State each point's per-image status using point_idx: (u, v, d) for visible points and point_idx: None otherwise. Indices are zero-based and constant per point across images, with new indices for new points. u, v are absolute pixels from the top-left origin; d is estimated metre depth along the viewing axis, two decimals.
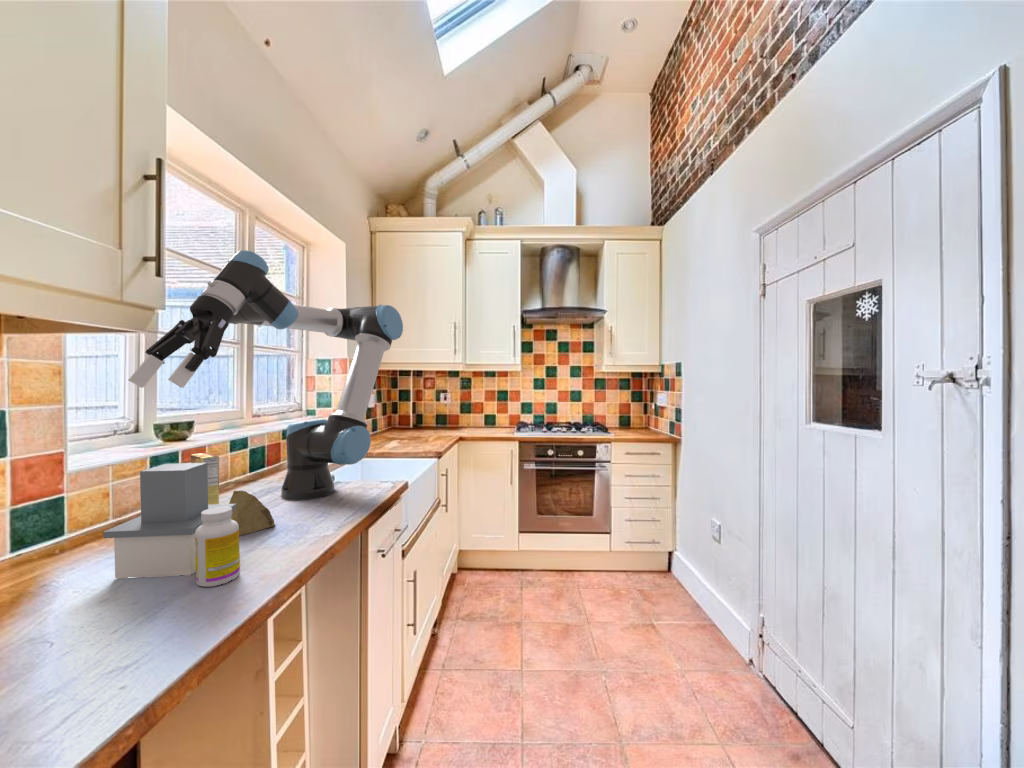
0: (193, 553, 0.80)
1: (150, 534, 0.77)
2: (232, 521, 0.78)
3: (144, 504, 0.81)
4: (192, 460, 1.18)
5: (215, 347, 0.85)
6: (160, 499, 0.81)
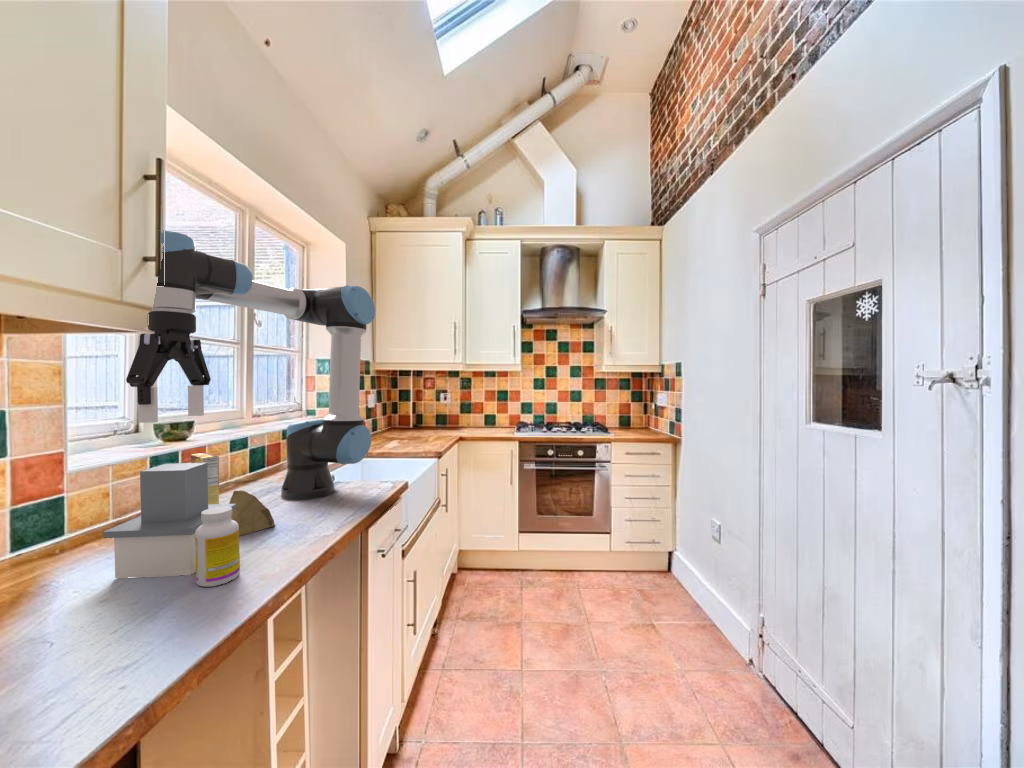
0: (193, 553, 0.80)
1: (150, 534, 0.77)
2: (232, 521, 0.78)
3: (144, 504, 0.81)
4: (192, 460, 1.18)
5: (139, 372, 0.75)
6: (160, 499, 0.81)
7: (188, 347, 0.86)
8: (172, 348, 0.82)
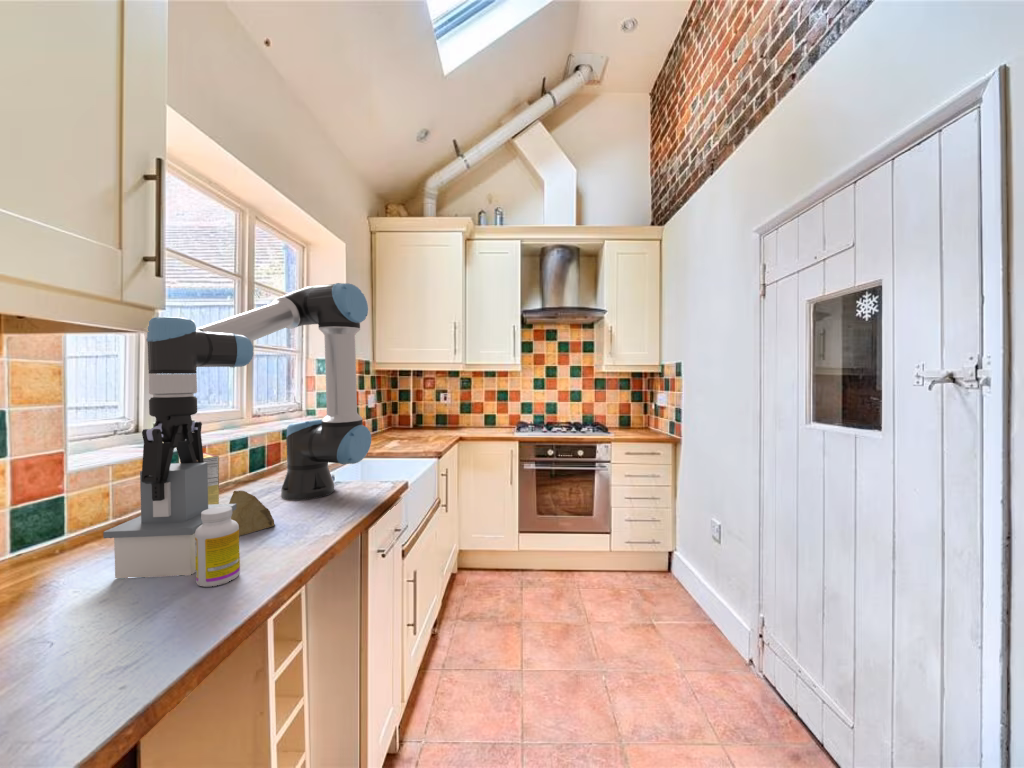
0: (193, 553, 0.80)
1: (150, 534, 0.77)
2: (232, 521, 0.78)
3: (144, 504, 0.81)
4: None
5: (152, 472, 0.78)
6: None
7: (189, 429, 0.86)
8: (175, 436, 0.82)
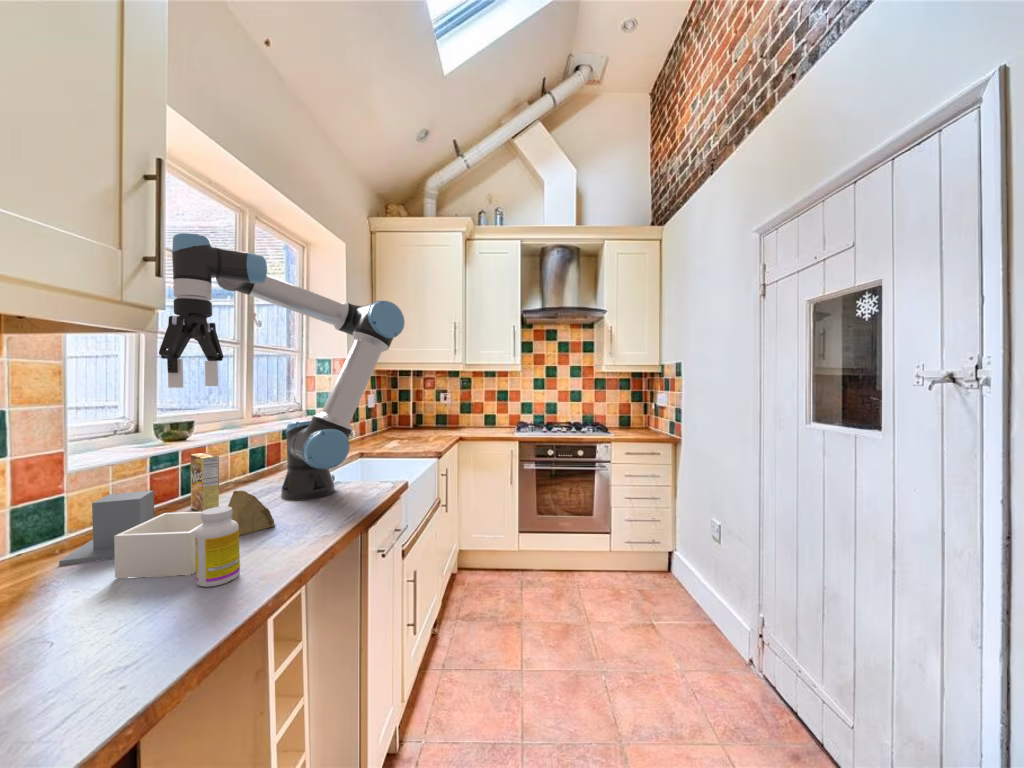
0: (193, 553, 0.80)
1: None
2: (232, 521, 0.78)
3: (96, 532, 0.89)
4: (192, 460, 1.18)
5: (169, 346, 0.94)
6: (114, 526, 0.90)
7: (206, 328, 1.05)
8: (193, 328, 1.00)
